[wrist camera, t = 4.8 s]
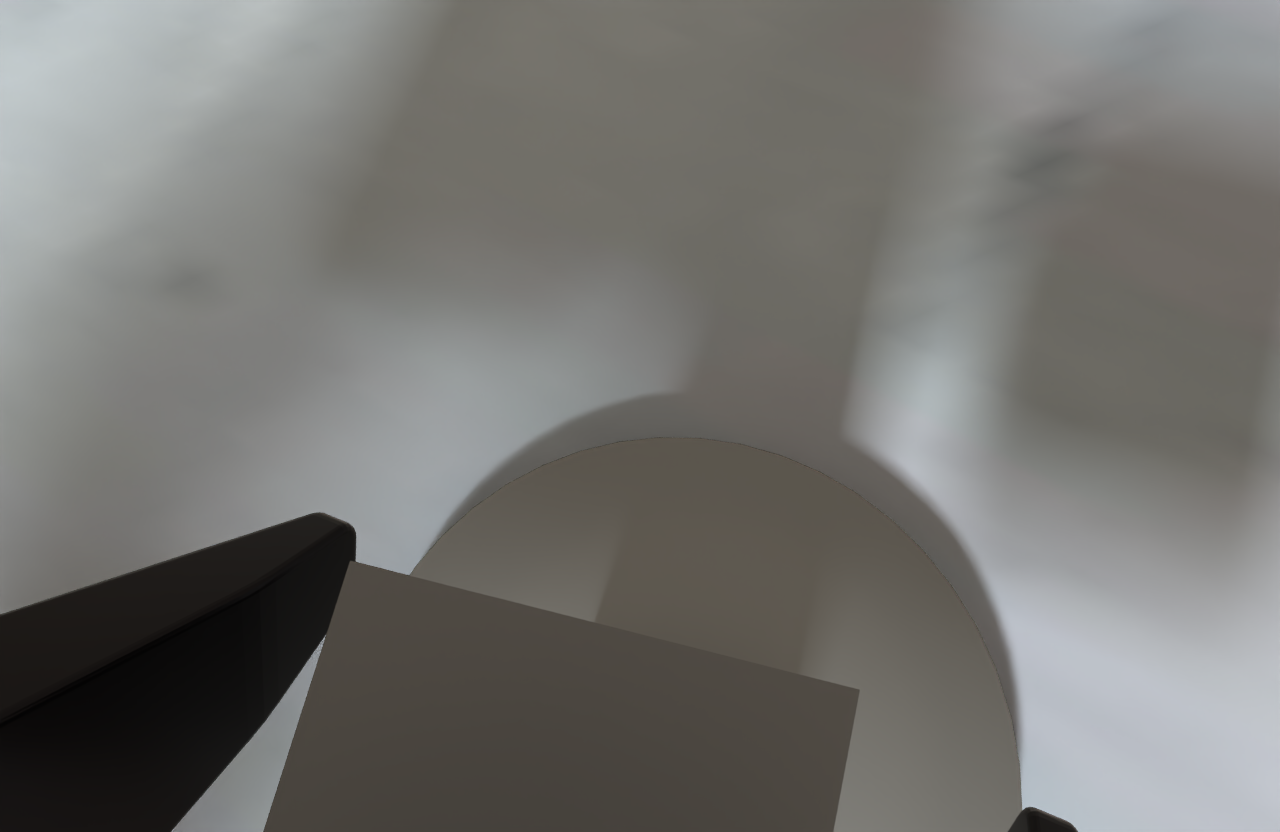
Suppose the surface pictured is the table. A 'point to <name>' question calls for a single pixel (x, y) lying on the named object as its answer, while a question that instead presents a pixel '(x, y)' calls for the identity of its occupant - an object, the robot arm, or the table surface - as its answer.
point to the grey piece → (656, 665)
